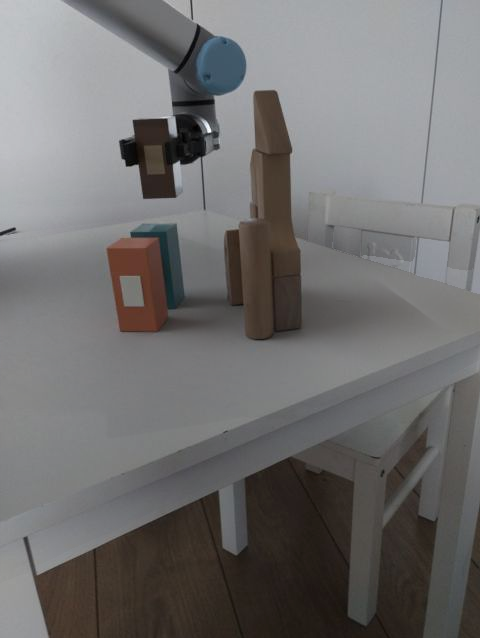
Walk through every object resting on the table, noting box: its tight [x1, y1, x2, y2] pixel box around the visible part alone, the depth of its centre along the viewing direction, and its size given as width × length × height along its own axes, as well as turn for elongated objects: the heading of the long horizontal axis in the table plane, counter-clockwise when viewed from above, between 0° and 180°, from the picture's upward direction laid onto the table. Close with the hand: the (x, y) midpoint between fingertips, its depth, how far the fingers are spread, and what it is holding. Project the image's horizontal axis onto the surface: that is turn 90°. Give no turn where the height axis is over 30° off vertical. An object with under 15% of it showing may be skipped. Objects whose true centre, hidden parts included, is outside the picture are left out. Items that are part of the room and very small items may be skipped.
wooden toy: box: [223, 89, 303, 340], centre depth 65 cm, size 15×7×25 cm, turn 13°
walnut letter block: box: [132, 115, 184, 200], centre depth 77 cm, size 5×5×10 cm
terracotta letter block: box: [106, 237, 169, 333], centre depth 67 cm, size 5×5×10 cm
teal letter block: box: [129, 222, 185, 310], centre depth 73 cm, size 5×5×10 cm
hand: (147, 154), depth 72 cm, fingers closed on walnut letter block, 5 cm apart
